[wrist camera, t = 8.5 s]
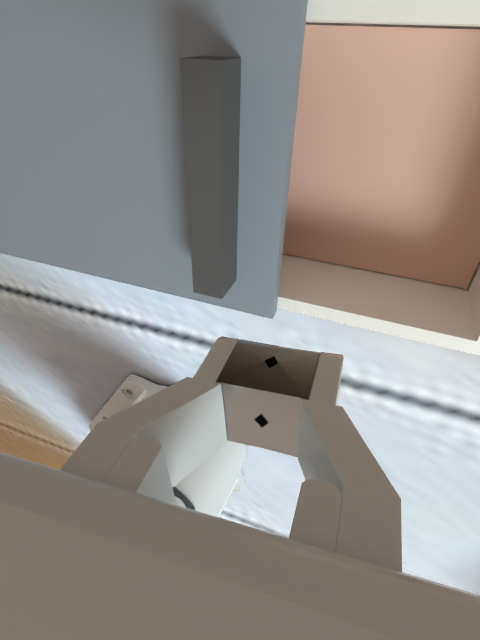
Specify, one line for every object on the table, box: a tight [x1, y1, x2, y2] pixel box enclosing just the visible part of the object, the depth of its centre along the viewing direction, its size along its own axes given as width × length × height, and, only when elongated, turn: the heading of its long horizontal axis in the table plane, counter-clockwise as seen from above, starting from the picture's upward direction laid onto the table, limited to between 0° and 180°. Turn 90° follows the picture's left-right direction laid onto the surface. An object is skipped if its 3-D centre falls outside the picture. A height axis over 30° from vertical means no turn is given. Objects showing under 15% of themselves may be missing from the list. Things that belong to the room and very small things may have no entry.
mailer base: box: [277, 0, 480, 356], centre depth 20 cm, size 20×14×6 cm
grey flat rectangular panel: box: [0, 0, 308, 319], centre depth 20 cm, size 20×14×3 cm
